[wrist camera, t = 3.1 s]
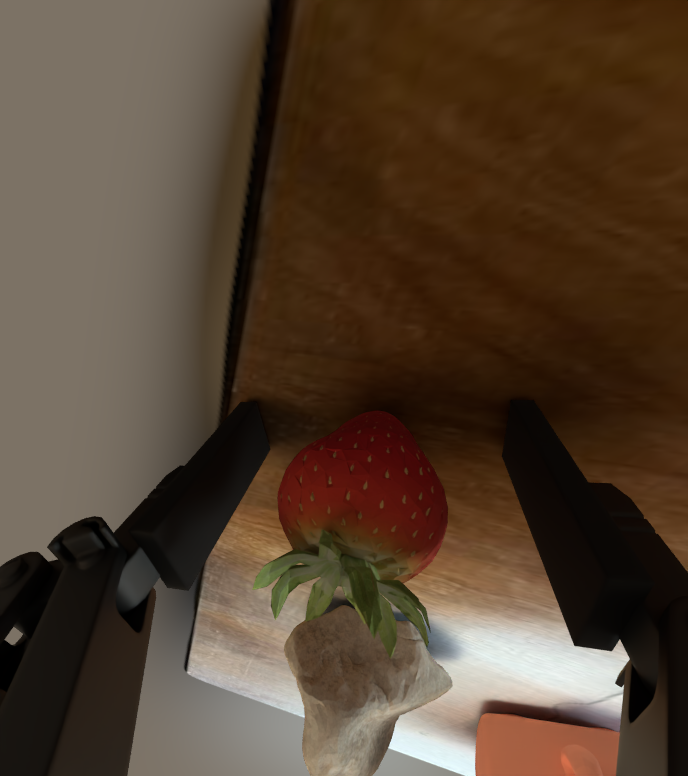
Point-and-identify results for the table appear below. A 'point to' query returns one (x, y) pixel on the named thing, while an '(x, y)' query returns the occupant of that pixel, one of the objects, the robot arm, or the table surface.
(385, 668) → the stone
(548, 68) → the table surface
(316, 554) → the fruit
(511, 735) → the teapot
